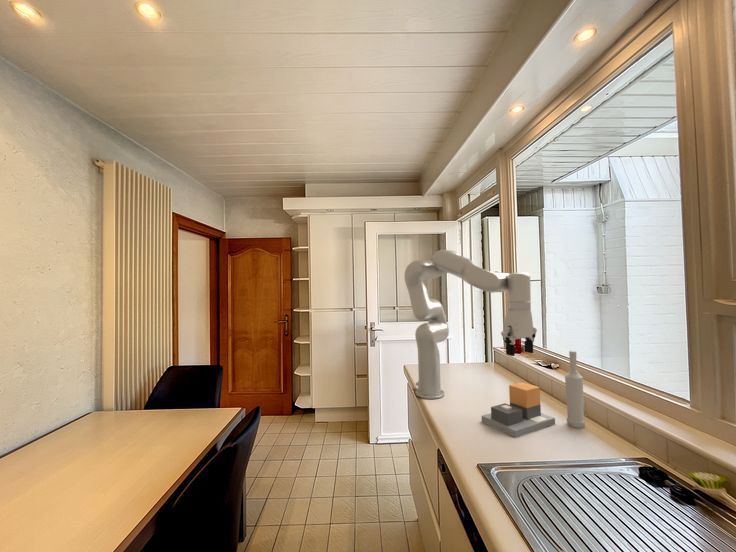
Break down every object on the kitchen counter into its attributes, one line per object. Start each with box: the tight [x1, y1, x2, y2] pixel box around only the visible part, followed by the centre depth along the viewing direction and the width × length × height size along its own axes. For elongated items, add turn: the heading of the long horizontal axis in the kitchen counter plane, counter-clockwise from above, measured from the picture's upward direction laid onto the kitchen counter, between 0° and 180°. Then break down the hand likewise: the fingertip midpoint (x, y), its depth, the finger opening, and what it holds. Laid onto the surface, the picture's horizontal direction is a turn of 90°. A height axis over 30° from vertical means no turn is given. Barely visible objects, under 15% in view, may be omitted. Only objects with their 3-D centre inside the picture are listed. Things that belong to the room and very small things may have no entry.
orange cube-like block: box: [508, 381, 541, 408], centre depth 116 cm, size 7×7×6 cm
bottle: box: [564, 350, 586, 429], centre depth 111 cm, size 5×5×25 cm
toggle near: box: [501, 404, 512, 411], centre depth 112 cm, size 2×2×4 cm
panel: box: [481, 401, 556, 438], centre depth 114 cm, size 14×20×6 cm
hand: (519, 353), depth 118 cm, fingers open, 9 cm apart
